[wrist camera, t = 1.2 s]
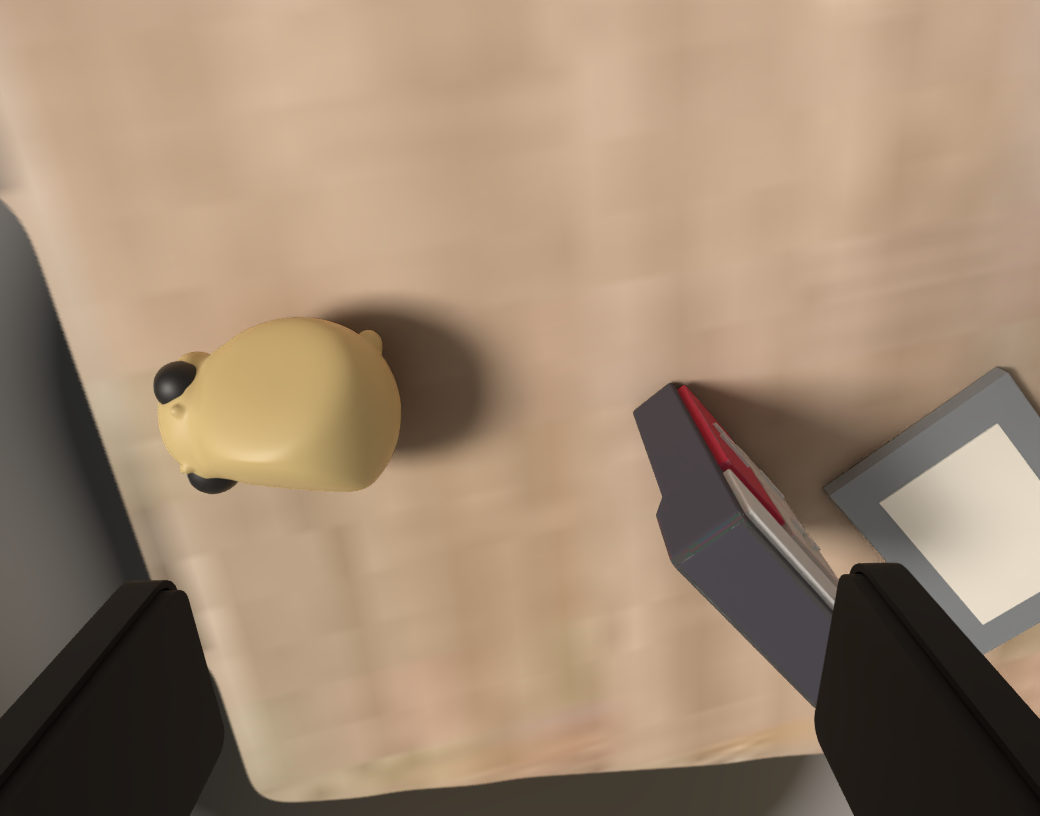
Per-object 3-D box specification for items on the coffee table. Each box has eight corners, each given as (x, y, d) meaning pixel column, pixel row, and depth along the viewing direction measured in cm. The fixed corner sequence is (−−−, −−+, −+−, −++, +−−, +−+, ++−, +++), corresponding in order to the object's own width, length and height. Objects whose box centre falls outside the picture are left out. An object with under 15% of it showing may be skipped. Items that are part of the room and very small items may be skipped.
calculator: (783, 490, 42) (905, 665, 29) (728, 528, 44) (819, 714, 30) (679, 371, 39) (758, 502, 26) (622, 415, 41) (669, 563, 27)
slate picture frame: (996, 366, 39) (1009, 373, 38) (1130, 554, 44) (1144, 564, 43) (822, 487, 42) (829, 496, 41) (964, 649, 47) (974, 661, 46)
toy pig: (199, 303, 38) (84, 364, 28) (404, 293, 38) (360, 350, 28) (237, 455, 42) (147, 554, 32) (424, 447, 42) (390, 545, 32)
